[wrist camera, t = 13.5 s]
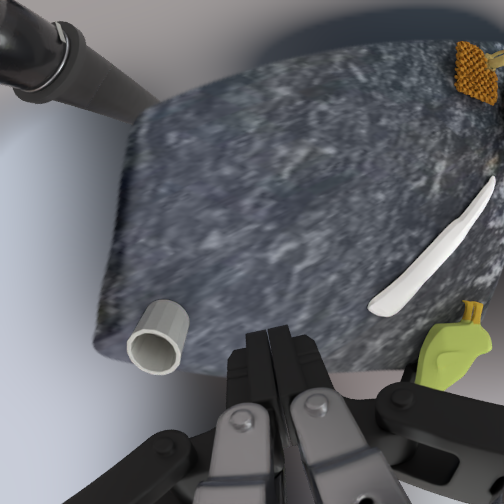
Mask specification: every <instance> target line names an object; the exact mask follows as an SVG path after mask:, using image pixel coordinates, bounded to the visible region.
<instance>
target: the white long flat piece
mask: <svg viewBox="0 0 504 504" xmlns="http://www.w3.org/2000/svg"><path fill="white" fill-rule="evenodd" d="M494 186H495V177H494V176H492V177H491V178H490V179H489V182H488V183H487V184H486V185H485V186H484V187H483V189H482V190H481V191H480V192H479V194H478V195H477V196H476V198H475V199H474V200H473V201H472V203H471V204H470V205H469V207H468V208H467V209H466V210H465V212H464V213H463V214H462V215H461V216H460V217H459V218H458V219H456V220H454V221H453V222H452V223H451V224H450V225H448V226H447V227H446V228H445V230H444V231H443V232H442V233H441V234H440V235H439V236H438V237H437V238H436V239H435V240H434V241H433V242H432V243H431V245H430V246H429V247H428V248H427V249H426V250H425V251H424V252H423V253H422V254H421V255H420V256H419V257H418V258H417V259H416V260H415V261H414V262H413V264H412V265H411V266H410V267H409V268H408V269H407V270H406V271H405V272H404V273H403V274H402V275H401V276H400V277H399V278H398V279H396V280H395V281H394V282H393V283H392V284H391V285H390V286H388V287H387V288H386V289H385V290H383V291H382V292H381V293H379V294H378V295H377V296H376V297H374V298H373V299H372V300H371V301H370V303H369V304H368V310H369V311H370V312H372V313H373V314H375V315H377V316H383V317H389V316H392V315H394V314H396V313H397V312H399V311H400V310H401V309H402V308H403V307H404V306H405V305H406V303H407V302H408V301H409V300H410V299H411V298H412V297H413V296H414V295H415V293H416V292H417V291H418V290H419V289H420V287H421V286H422V285H423V284H424V282H425V281H426V280H427V279H428V278H429V277H430V276H431V275H432V274H433V273H434V272H435V271H436V270H437V269H438V268H439V267H440V266H441V264H442V263H443V262H444V261H445V260H446V259H447V258H448V257H449V256H450V255H451V253H452V252H453V251H454V250H455V249H456V248H457V247H458V245H459V244H460V243H461V242H462V240H463V239H464V237H465V236H466V234H467V233H468V231H469V229H470V228H471V226H472V225H473V224H474V222H475V221H476V219H477V218H478V217H479V215H480V214H481V212H482V211H483V209H484V208H485V206H486V204H487V203H488V201H489V199H490V197H491V195H492V193H493V190H494Z"/></svg>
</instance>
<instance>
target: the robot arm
mask: <svg viewBox="0 0 504 504" xmlns="http://www.w3.org/2000/svg"><path fill="white" fill-rule="evenodd" d="M55 22H56V21H55ZM56 26H57V27H56ZM56 26H54V25H53V24H51V23H50V22H48V21H47V20H45V19H44V18H42V17H40V16H39V15H37V14H36V13H34V12H33V11H31V10H29V9H28V8H26V7H25V6H23V5H21V4H20V3H18V2H16V1H15V0H0V84H1V85H5V86H9V87H13V88H17V89H20V90H22V91H25V92H29V93H35V92H39V91H42V90H44V89H45V88H47V87H48V86H50V85H51V84H52V83H53V82H54V81H55V80H56V79H57V78H58V77H59V76H60V74H61V73H62V71H63V70H64V68H65V66H66V64H67V62H68V59H69V56H70V52H71V41H70V38H69V36H68V34H67V33H66V32H65V31H63V30H62V28H61V25H60V24H59V23H57V22H56ZM268 335H269V340H270V344H269V340H268V336H267V332H266V329H265V330H261V331H256V332H251V333H247V334H246V348H242V349H237V350H234V351H233V352H232V354H231V355H230V357H229V358H228V364H227V370H228V372H227V394H226V395H227V396H226V410H225V411H224V412H223V413H222V414H221V415H220V417H219V419H218V421H217V426H216V427H215V428H213V429H211V430H210V431H208V432H205V433H203V434H200V435H197V436H194V437H191V438H188V436H187V435H186V434H185V433H183V432H181V431H178V430H164V431H161V432H158V433H156V434H154V435H152V436H151V437H150V438H148V439H147V440H146V441H145V442H143V443H142V444H141V445H140V446H139V447H137V448H136V449H135V450H134V451H132V452H131V453H130V454H129V455H127V456H126V457H125V458H123V459H122V460H121V461H120V462H118V463H117V464H116V465H114V466H113V467H112V468H111V469H109V470H108V471H107V472H105V473H104V474H103V475H101V476H100V477H99V478H97V479H96V480H95V481H93V482H92V483H91V484H90V485H88V486H86V487H85V488H84V489H82V490H81V491H79V492H78V493H77V494H75V495H74V496H72V497H71V498H70V499H68V500H67V501H65V502H64V503H63V504H287V494H286V475H285V467H284V463H285V459H284V453H283V448H287V447H290V444H289V439H288V434H287V428H288V432H289V436H290V440H291V444H292V446H296V445H298V447H299V451H300V455H301V460H302V464H303V468H304V471H305V474H306V477H307V480H308V483H309V487H310V490H311V492H312V496H313V498H314V502H315V504H412V503H411V501H410V500H409V498H408V496H407V494H406V493H405V491H404V489H403V487H402V486H401V484H400V482H399V480H400V481H403V482H406V483H408V484H411V485H413V486H416V487H419V488H422V489H424V490H427V491H430V492H433V493H436V494H439V495H442V496H445V497H448V498H451V499H454V500H458V501H461V502H465V503H469V504H504V406H503V405H498V404H494V403H489V402H484V401H480V400H476V399H472V398H468V397H464V396H460V395H456V394H452V393H448V392H444V391H441V390H437V389H433V388H430V387H426V386H423V385H419V384H416V383H412V382H397V383H393V384H390V385H388V386H386V387H385V388H383V389H382V390H381V391H380V392H379V394H378V395H377V398H376V399H364V400H355V399H349V398H346V397H343V396H342V395H340V394H339V393H338V392H337V391H336V390H335V389H334V387H333V385H332V382H331V380H330V377H329V375H328V372H327V370H326V367H325V365H324V363H323V360H322V358H321V355H320V353H319V351H318V348H317V346H316V343H315V341H314V340H313V339H311V338H310V337H308V336H307V335H301V336H296V337H291V334H290V331H289V328H288V325H283V326H278V327H274V328H270V329H268ZM270 346H271V348H270ZM271 351H272V353H271ZM284 416H285V417H284ZM285 420H286V423H285ZM286 424H287V428H286Z"/></svg>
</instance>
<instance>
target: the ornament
mask: <svg viewBox="0 0 504 504" xmlns="http://www.w3.org/2000/svg"><path fill="white" fill-rule="evenodd" d="M472 49H473V50H472ZM456 50H457V53H458V54H456V57H457V60H458V61H456V63H455V64H456V65H457V67H459V68H455V71H457V75H458V76H457V75H455V79H457V82H458V83H454V86H456V89H457V90H458V91H459V92H463V93H464V94H466V95H467V94H468V95H470V96H471V97H474V98H476V99H478V100H479V99H480V100H481V101H482V102H484V101H485V102H486V103H488V104H490V105H494V103H496V101H497V100H496V99H497V96H498V94H497V89H498V85H497V82H495V81H498V78H497V75H496V74H495V72H494V71H495V69H496V68H498V67H501V66H504V54H503V55H502V56H499V57H496V58H493V57H495V56H497V55H499V54H502V53H504V50H502V51H498V52H496V53H494V54H492V55H490V54H488V53H486V54H485V55H484V53H483V51H482V50H481V49H479V48H478V47H476V45H472V44H471V45H470V43H469V42H463V41H460V42H458V43H457V47H456ZM467 53H468V54H467ZM473 55H474V57H473ZM481 57H483V58H481ZM479 58H480V59H479ZM467 60H468V61H467ZM473 63H474V64H473ZM467 67H468V68H467ZM491 68H492V69H491ZM473 69H474V70H473ZM466 74H467V75H466ZM475 75H476V76H475ZM492 76H493V77H492ZM463 77H464V78H463ZM472 77H473V78H472ZM469 79H470V81H469ZM478 80H479V81H478ZM474 82H475V83H474ZM492 82H493V84H492ZM463 84H464V86H463ZM472 84H473V85H472ZM477 86H478V87H477ZM487 88H488V89H487ZM474 89H475V90H474ZM483 89H484V90H483ZM492 89H493V91H492ZM480 92H481V93H480ZM486 95H487V96H486ZM491 97H493V98H491Z"/></svg>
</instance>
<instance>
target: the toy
mask: <svg viewBox="0 0 504 504" xmlns="http://www.w3.org/2000/svg"><path fill="white" fill-rule="evenodd" d="M462 301H463V302H464V303H465V311H464V315H463V318H462V320H461V321H460V322H458V323H444V324H435V325H434V326H433V327H432V328H431V329H430V331H429V332H428V334H427V336H426V338H425V340H424V343H423V345H422V348H421V351H420V354H419V359H418V366H417V373H416V379H415V383H416V384H419V385H423V386H426V387H430V388H433V389H437V390H441V391H444V390H446V389H447V388H448V387H449V386H451V385H452V384H454V383H455V382H456V381H458V380H459V379H460V378H462V377H463V376H464V375H465V374H466V372H467V370H468V369H469V368H470V366H471V365H472V363H473V361H474V360H475V359H476V357H477V356H479V355H481V354H485V353H487V352H489V351H490V350H491V349H492V343H491V338H490V336H489V334H488V333H487V332H486V331H485V330H484V329H483V328H482V327H481V324H480V317H481V312H482V308H483V304H482V303H478V302H473V301H471V302H469V301H464V300H462ZM473 306H474V312H473V316H472V319H471V315H472V310H473Z"/></svg>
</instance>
